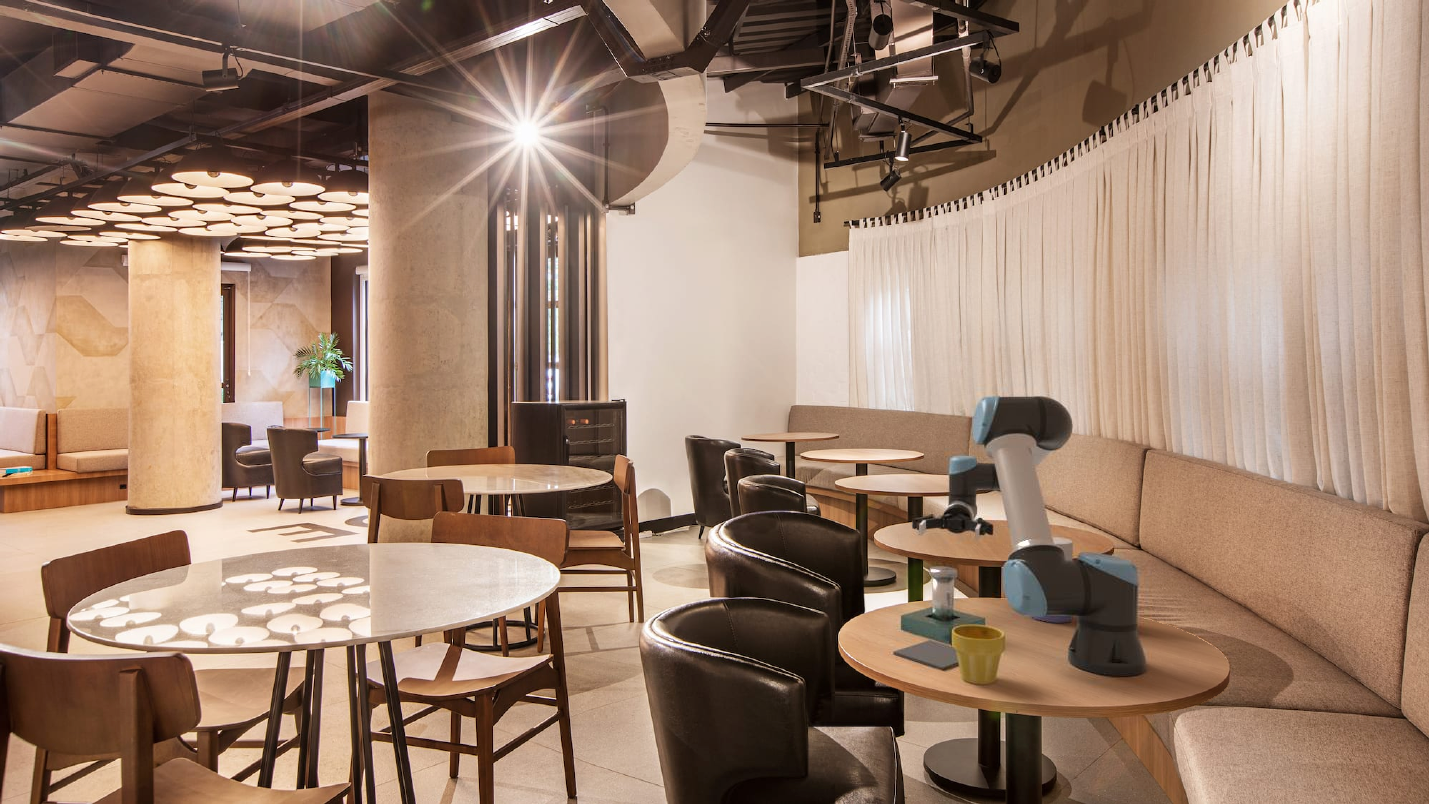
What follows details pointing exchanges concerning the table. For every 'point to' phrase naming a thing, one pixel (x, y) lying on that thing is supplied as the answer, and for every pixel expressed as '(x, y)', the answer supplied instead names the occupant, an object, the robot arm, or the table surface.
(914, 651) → the mat
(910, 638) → the table surface
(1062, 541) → the container
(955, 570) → the plug
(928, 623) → the housing
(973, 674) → the plant pot
